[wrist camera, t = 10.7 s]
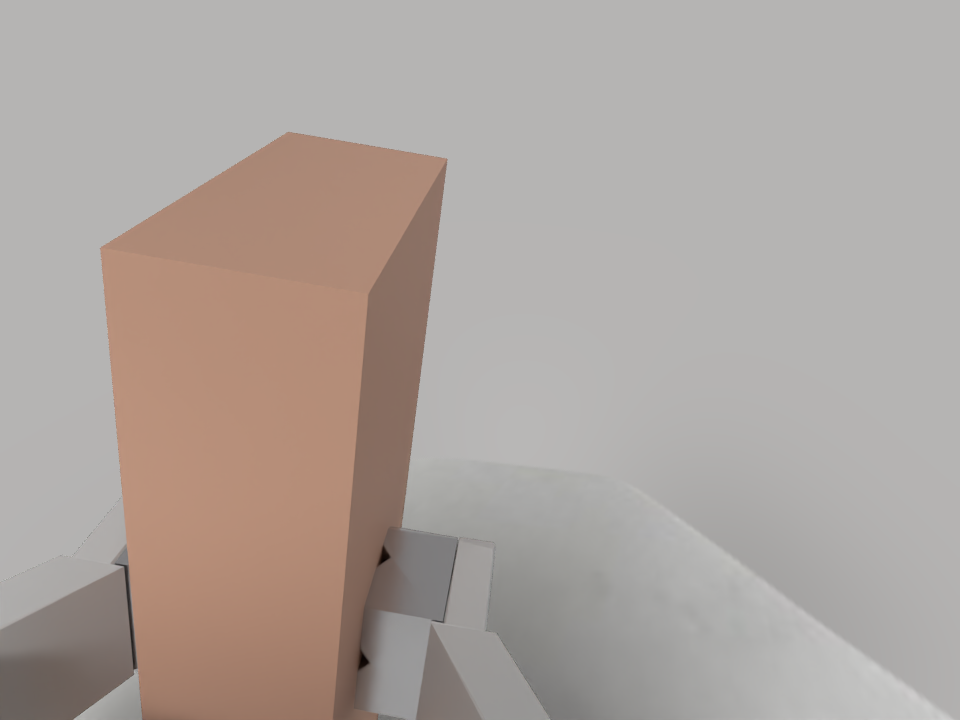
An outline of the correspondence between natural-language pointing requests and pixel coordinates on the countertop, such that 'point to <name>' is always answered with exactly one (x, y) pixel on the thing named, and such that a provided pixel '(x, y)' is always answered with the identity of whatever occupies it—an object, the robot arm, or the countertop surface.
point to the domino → (268, 420)
